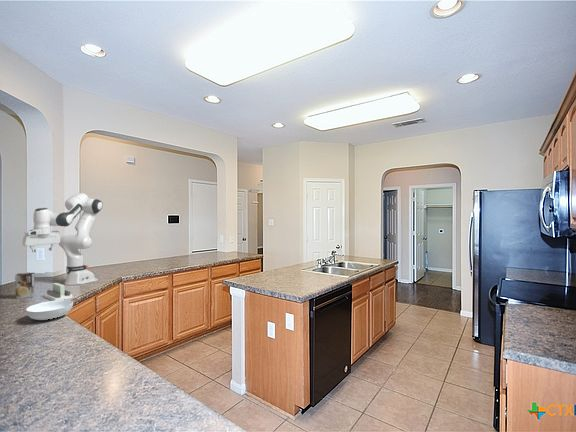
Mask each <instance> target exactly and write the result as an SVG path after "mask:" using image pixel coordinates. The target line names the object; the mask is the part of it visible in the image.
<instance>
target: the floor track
mask: <svg viewBox="0 0 576 432" xmlns="http://www.w3.org/2000/svg"><path fill="white" fill-rule="evenodd" d="M44 298H45V299H48V300H49V301H55V300H64V299H65V300H70V299H73V294H71V291H69V290H67V289H65V296H61V294H60V293H57V292H55V291H53V289H47V290H46V293H45V294H44ZM69 298H70V299H69Z"/></svg>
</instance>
